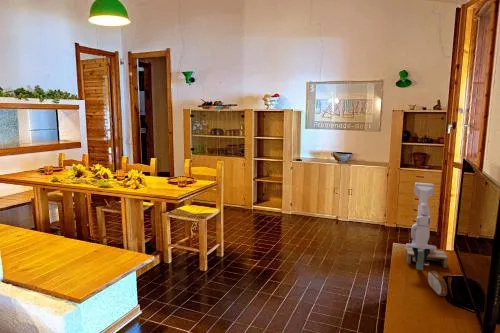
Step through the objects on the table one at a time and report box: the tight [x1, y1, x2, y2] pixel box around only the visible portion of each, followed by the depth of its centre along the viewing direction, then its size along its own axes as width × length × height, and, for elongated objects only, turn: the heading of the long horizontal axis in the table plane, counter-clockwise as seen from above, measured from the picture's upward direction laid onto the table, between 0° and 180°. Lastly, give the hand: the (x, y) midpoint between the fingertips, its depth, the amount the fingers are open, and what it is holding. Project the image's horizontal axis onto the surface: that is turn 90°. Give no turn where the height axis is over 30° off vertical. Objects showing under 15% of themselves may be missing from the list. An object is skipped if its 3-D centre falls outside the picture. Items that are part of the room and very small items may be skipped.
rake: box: [411, 250, 424, 271], centre depth 201 cm, size 11×4×10 cm, turn 166°
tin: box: [427, 270, 448, 297], centre depth 177 cm, size 15×3×8 cm, turn 179°
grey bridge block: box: [404, 247, 449, 269], centre depth 208 cm, size 9×20×6 cm, turn 76°
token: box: [423, 260, 431, 267], centre depth 207 cm, size 4×4×1 cm
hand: (419, 261), depth 197 cm, fingers closed on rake, 3 cm apart
